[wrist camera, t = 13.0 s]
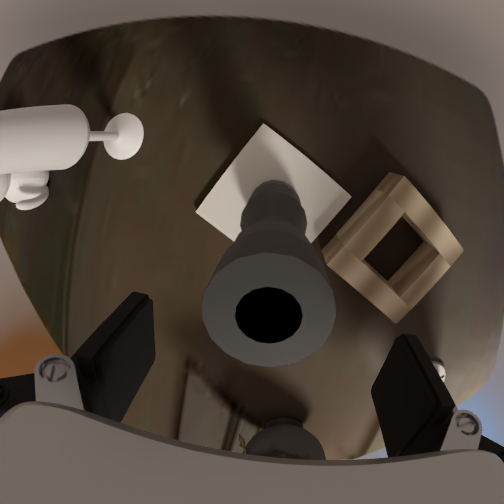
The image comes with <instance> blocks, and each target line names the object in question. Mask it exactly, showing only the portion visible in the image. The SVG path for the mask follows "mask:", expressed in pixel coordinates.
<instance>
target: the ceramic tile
mask: <svg viewBox="0 0 504 504" xmlns="http://www.w3.org/2000/svg"><path fill="white" fill-rule="evenodd" d="M270 180H278V181H284V182H285V183H287V184H289V185H290V186H292V187H293V189H294V190H295V192H296V193H297V194H298V196H299V198H300V203H301V206H302V207H303V208H304V210H305V214H306V219H307V228H306V233H305V236H306V237H307V238H308V240H309V241H310V243H312V242H313V241H314V240H315V238H316V237H317V236H318V235H319V234H320V233H321V232H322V230H323V229H324V228H325V227H326V226H327V225H328V224H329V223H330V221H331V220H332V219H333V218H334V217H335V216H336V215H337V213H338V212H339V211H340V210H341V209H342V208H343V206H344V205H345V204H346V203H347V202H348V201H349V200H350V198H351V197H352V196H350V195H349V194H348V193H347V192H346V191H345V190H344V189H343V188H342V187H341V186H339V185H338V184H337V183H336V182H335V181H334V180H333V179H332V178H330V177H329V176H328V175H327V174H326V173H325V172H324V171H322V170H321V169H320V168H319V167H318V166H317V165H315V164H314V163H313V162H312V161H311V160H309V159H308V158H307V157H306V156H305V155H303V154H302V153H301V152H300V151H298V150H297V149H296V148H295V147H293V146H292V145H291V144H290V143H288V142H287V141H286V140H285V139H283V138H282V137H281V136H279V135H278V134H277V133H276V132H274V131H273V130H272V129H270V128H269V127H268V126H266V125H265V124H264V123H263V125H262V126H261V127H260V128H259V129H258V131H257V132H256V133H255V134H254V136H253V137H252V138H251V139H250V141H249V142H248V143H247V144H246V146H245V147H244V148H243V149H242V151H241V152H240V153H239V154H238V156H237V157H236V158H235V160H234V161H233V162H232V163H231V165H230V166H229V167H228V169H227V170H226V171H225V173H224V174H223V175H222V177H221V178H220V179H219V181H218V182H217V183H216V185H215V186H214V187H213V189H212V190H211V191H210V193H209V194H208V195H207V197H206V198H205V199H204V201H203V202H202V204H201V205H200V206H199V208H198V209H197V211H196V213H197V214H199V215H200V216H201V217H202V218H204V219H205V220H206V221H208V222H209V223H210V224H212V225H213V226H214V227H216V228H217V229H218V230H220V231H221V232H222V233H224V234H225V235H226V236H227V237H229V238H230V239H231V240H233V241H235V240H236V238H237V236H238V235H239V233H240V232H241V227H240V222H241V214H242V211H243V210H244V208H245V206H246V205H247V203H248V200H249V198H250V197H251V195H252V193H253V192H254V190H255V188H256V187H258V186H259V185H260V184H262V183H263V182H266V181H270Z"/></svg>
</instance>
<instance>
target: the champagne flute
mask: <svg viewBox="0 0 504 504" xmlns="http://www.w3.org/2000/svg"><path fill="white" fill-rule="evenodd" d="M143 135H144V131H143V126H142V123H141V122H140V120H139V119H138V118H137V117H136V116H134V115H133V114H130V113H122V114H119V115H117V116H115V117H114V118H112V119H111V120H110V122H109V123H108V125H107V126H106V129H105V131H90V128H89V123H88V120H87V118H86V116H85V115H84V113H83V112H82V111H81V110H80V109H79V108H78V107H76V106H73V105H49V106H37V107H26V108H18V109H10V110H3V111H0V174H9V173H19V172H31V171H46V170H62V169H67V168H69V167H71V166H72V165H74V164H75V163H76V162H77V161H78V160H79V159H80V158H81V157H82V155H83V154H84V152H85V150H86V148H87V145H88V142H89V141H104V146H105V149H106V151H107V152H108V153H109V155H110V156H112V157H113V158H115V159H119V160H124V159H128V158H130V157H132V156H133V155H134V154H135V153H136V152H137V151H138V150H139V148H140V147H141V144H142V141H143Z"/></svg>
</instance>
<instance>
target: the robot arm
mask: <svg viewBox="0 0 504 504" xmlns="http://www.w3.org/2000/svg"><path fill="white" fill-rule="evenodd" d="M154 360H155V339H154V319H153V301H152V299H149V296H148V295H147V294H143V293H138V292H132V293H131V294H130V295H129V296H128V297H127V298H126V299H125V300H124V301H123V302H122V303H121V304H120V305H119V307H118V308H117V309H116V310H115V311H114V312H113V313H112V314H111V315H110V316H109V317H108V318H107V319H106V320H105V321H104V322H103V323H102V324H101V325H100V326H99V327H98V328H97V329H96V330H95V331H94V332H93V334H92V335H91V336H90V337H89V338H88V339H87V340H86V341H85V342H84V343H83V345H82V346H81V347H80V348H79V349H78V350H77V351H76V352H75V354H74V355H73V356H72V357H71V358H68V357H67V356H65V355H60V354H53V355H49V356H46V357H44V358H42V359H41V360H40V361H39V362H38V363H37V365H36V366H35V373H33V374H27V375H21V376H14V377H8V378H1V379H0V504H504V447H503V446H501V445H499V444H497V443H495V442H494V441H492V440H490V439H488V438H486V437H484V436H483V435H481V433H482V424H481V421H480V420H479V418H478V417H477V416H476V415H475V414H473V413H472V412H470V411H467V410H459V411H458V409H457V407H456V405H455V403H454V401H453V399H452V397H451V395H450V393H449V392H448V390H447V388H446V386H445V384H444V380H445V376H446V371H445V368H444V367H443V365H442V364H441V363H440V362H437V361H431V360H430V358H429V356H428V354H427V353H426V351H425V349H424V348H423V346H422V344H421V343H420V341H419V340H418V338H417V336H416V335H412V334H401V335H400V336H399V337H397V338H396V339H395V341H394V343H393V345H392V348H391V350H390V352H389V354H388V356H387V358H386V360H385V362H384V364H383V366H382V368H381V370H380V372H379V374H378V376H377V378H376V380H375V382H374V384H373V386H372V389H371V395H372V399H373V402H374V405H375V409H376V413H377V416H378V420H379V424H380V427H381V431H382V435H383V439H384V443H385V447H386V451H387V455H388V458H378V459H361V460H305V459H288V458H276V457H266V456H258V455H250V454H243V453H236V452H230V451H224V450H219V449H214V448H209V447H204V446H199V445H195V444H190V443H186V442H182V441H178V440H174V439H171V438H167V437H163V436H160V435H156V434H153V433H150V432H146V431H143V430H140V429H137V428H134V427H130V426H127V425H125V424H122V423H120V422H121V421H122V419H123V417H124V415H125V413H126V412H127V410H128V408H129V406H130V404H131V402H132V401H133V399H134V397H135V395H136V393H137V391H138V390H139V388H140V386H141V384H142V382H143V381H144V379H145V377H146V375H147V374H148V372H149V370H150V368H151V366H152V365H153V363H154Z"/></svg>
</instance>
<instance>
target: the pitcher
mask: <svg viewBox="0 0 504 504" xmlns="http://www.w3.org/2000/svg"><path fill="white" fill-rule="evenodd" d="M239 441H240V442H241V443H240V446H241V447H242V448H243V449H244V451H243V454H250V455H258V456H266V457H276V458H288V459H305V460H326V458H325V454H324V451H323V448H322V446H321V444H320V442H319V441H318V439H317V438H316V437H315V436H313V435H312V434H311V433H310V432H308V431H307V430H305V429H303V425H302V424H301V422H299V421H298V420H296V419H293V418H288V417H279V418H274V419H272V420H270V421H269V422H268V423H267V424H266V428H265V429H263V430H261V431H260V432H258V433H257V434H256V435H255V436H253V437H252V439H251V440H250V441H249V442H248V444H247V445H246V447H245V442H244V439H243V438H242V437H241V435H240V434H239Z"/></svg>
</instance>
